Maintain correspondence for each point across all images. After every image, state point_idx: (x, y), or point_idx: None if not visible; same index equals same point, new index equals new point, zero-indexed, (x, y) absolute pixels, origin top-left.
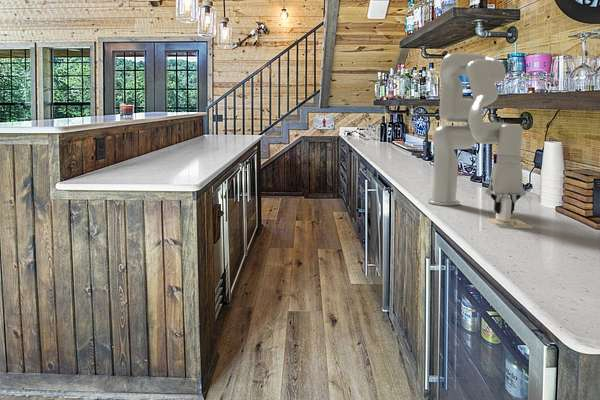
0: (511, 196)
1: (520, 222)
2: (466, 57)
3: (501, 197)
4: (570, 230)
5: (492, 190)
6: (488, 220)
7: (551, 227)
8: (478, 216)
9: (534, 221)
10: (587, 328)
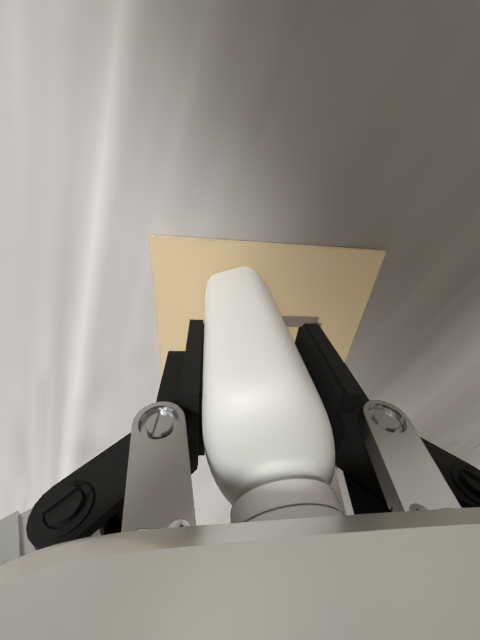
0: (390, 475)
1: (333, 344)
2: None
3: (225, 494)
4: (445, 438)
5: (36, 573)
6: (154, 275)
7: (418, 404)
8: (94, 46)
9: (467, 277)
10: None
